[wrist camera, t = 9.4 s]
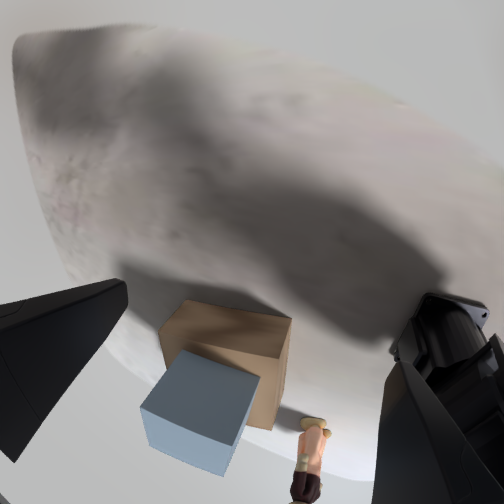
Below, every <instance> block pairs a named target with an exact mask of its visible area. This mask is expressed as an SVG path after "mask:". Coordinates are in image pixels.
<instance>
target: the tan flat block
mask: <svg viewBox="0 0 504 504" xmlns="http://www.w3.org/2000/svg"><path fill="white" fill-rule="evenodd" d="M291 322H292V318H285V317H279V316H273V315H267V314H261V313H255V312H249V311H243V310H238V309H232V308H227V307H222V306H216V305H211V304H206V303H201V302H196V301H191V300H185V301H184V303H183V304H182V305H181V306H180V307H179V308H178V309H177V310H176V311H175V312H174V314H173V315H172V316H171V317H170V318H169V319H168V320H167V321H166V322H165V324H164V325H163V326H162V327H161V328H160V329H159V330H158V335H159V339H160V344H161V348H162V352H163V357H164V361H165V365H166V369H168V368H169V367H170V365H171V364H172V362H173V361H174V360H175V358H176V357H177V356H178V354H179V353H180V352H181V350H182V349H183V350H186V351H188V352H191V353H193V354H196V355H198V356H201V357H203V358H206V359H209V360H211V361H214V362H217V363H220V364H222V365H225V366H228V367H231V368H234V369H237V370H240V371H243V372H246V373H249V374H252V375H255V376H258V377H261V378H260V381H259V384H258V388H257V391H256V394H255V398H254V401H253V404H252V407H251V410H250V414H249V417H248V420H247V422H246V425H247V426H252V427H256V428H261V429H265V430H270V431H272V427H273V424H274V421H275V418H276V415H277V412H278V408H279V405H280V402H281V399H282V395H283V391H284V384H285V376H286V367H287V359H288V350H289V341H290V332H291Z"/></svg>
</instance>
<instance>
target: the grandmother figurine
mask: <svg viewBox="0 0 504 504" xmlns="http://www.w3.org/2000/svg"><path fill="white" fill-rule="evenodd" d="M300 425H301V427H302V428H303V429H304V430H306V432H304V433H302V434H300V436H299V441H298V452H297V464H296V468H295V471H294V474H293V483H292V485H291V488H290V493H291V496H292V499H293V502H291V503H289V504H312V503H314V502H315V501H316V500H317V499H318V498H319V497H320V492H321V488H322V484H321V483H320V471H321V464H322V462H321V458H322V455H323V452H324V448H325V445H326V439H328V438H329V437H330V436H331V432H330V431H329V430H322V429H323V428H324V427H325V426H326V421H325V420H323V419H317V418H310V417H307V418H303V419H301V421H300Z"/></svg>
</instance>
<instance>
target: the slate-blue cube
mask: <svg viewBox="0 0 504 504" xmlns="http://www.w3.org/2000/svg"><path fill="white" fill-rule="evenodd" d="M260 378H261V377H258V376H255V375H252V374H249V373H246V372H243V371H240V370H237V369H234V368H231V367H228V366H225V365H222V364H220V363H217V362H214V361H211V360H209V359H206V358H203V357H201V356H198V355H196V354H193V353H191V352H188V351H186V350H183V349H182V350H181V352H180V353H179V354H178V356H177V357H176V358H175V360H174V361H173V362H172V364H171V365H170V367H169V368H168V369H167V371H166V372H165V373H164V375H163V376H162V377H161V379H160V380H159V381H158V383H157V384H156V386H155V387H154V388H153V390H152V391H151V392H150V394H149V395H148V397H147V398H146V399H145V400H144V402H143V403H142V404H141V406H140V411H141V415H142V419H143V423H144V427H145V431H146V434H147V438H148V442H149V446H151V447H153V448H155V449H157V450H159V451H161V452H163V453H165V454H167V455H170V456H172V457H174V458H176V459H178V460H181V461H183V462H185V463H188V464H190V465H192V466H195V467H197V468H200V469H202V470H205V471H208V472H210V473H213V474H216V475H219V476H222V477H224V474H225V472H226V470H227V467H228V465H229V463H230V461H231V458H232V456H233V453H234V451H235V449H236V446H237V444H238V442H239V439H240V437H241V434H242V432H243V430H244V427H245V425H246V422H247V420H248V417H249V414H250V410H251V407H252V404H253V401H254V398H255V394H256V391H257V388H258V384H259V381H260Z"/></svg>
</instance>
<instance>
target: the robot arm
mask: <svg viewBox="0 0 504 504" xmlns="http://www.w3.org/2000/svg"><path fill="white" fill-rule="evenodd" d="M427 299H431V300H430V301H429V302H426V301H427ZM127 306H128V294H127V285H126V283H125V282H124V281H122V280H120V279H117V278H113V279H109V280H105V281H101V282H96V283H92V284H88V285H84V286H79V287H75V288H71V289H67V290H63V291H58V292H54V293H50V294H46V295H42V296H38V297H33V298H29V299H25V300H20V301H17V302H12V303H7V304H2V305H0V450H1V451H2V452H3V453H4V454H5V455H6V456H7V457H8V458H9V459H10V460H11V461H12V462H13V463H15V462H16V461H17V460H18V458H19V456H20V455H21V453H22V452H23V450H24V449H25V447H26V446H27V444H28V443H29V441H30V440H31V439H32V437H33V436H34V434H35V433H36V431H37V430H38V429H39V427H40V426H41V424H42V422H43V421H44V420H45V418H46V417H47V416H48V414H49V413H50V411H51V410H52V409H53V407H54V406H55V405H56V403H57V402H58V401H59V399H60V398H61V397H62V395H63V394H64V393H65V391H66V390H67V389H68V387H69V386H70V385H71V383H72V382H73V381H74V379H75V378H76V377H77V375H78V374H79V373H80V372H81V370H82V369H83V368H84V366H85V365H86V364H87V363H88V361H89V360H90V359H91V358H92V356H93V355H94V354H95V352H96V351H97V350H98V349H99V347H100V346H101V345H102V344H103V342H104V341H105V340H106V338H107V337H108V335H109V334H110V332H111V331H112V329H113V328H114V326H115V325H116V323H117V322H118V320H119V319H120V317H121V316H122V314H123V313H124V311H125V310H126V308H127ZM484 312H485V313H484ZM483 313H484V314H483ZM482 314H483V315H482ZM488 316H489V310H488V309H487V308H486V307H483V306H480V305H476V304H472V303H468V302H464V301H460V300H456V299H452V298H449V297H445V296H441V295H437V294H433V293H426V294H425V295H424V296H423V297H422V299H421V302H420V304H419V306H418V308H417V310H416V312H415V315H414V317H412V318H411V319H410V320H409V322H408V324H407V326H406V328H405V330H404V332H403V334H402V336H401V338H400V340H399V342H398V348H397V350H396V352H395V353H394V361H395V362H397V363H396V364H395V366H394V367H393V369H392V371H391V372H390V374H389V376H388V377H387V379H386V382H385V386H384V394H383V402H382V409H381V415H380V422H379V431H378V447H377V460H376V470H375V480H374V489H373V496H372V503H371V504H504V343H503V342H502V341H501V339H500V338H499V337H498V336H497V334H496V333H495V334H494V335H493V336H492V337H491V338H490V339H489V341H488V342H487V340H486V338H485V336H484V334H483V332H482V330H481V329H482V327H483V326H484V324H485V322H486V320H487V318H488ZM398 356H400V357H398ZM0 504H10V503H9V502H8V501H7V500H6V499H5V498H4V497H3V496H2V495H1V494H0Z"/></svg>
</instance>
